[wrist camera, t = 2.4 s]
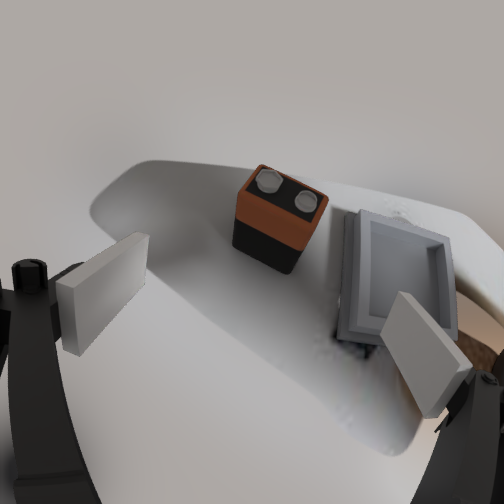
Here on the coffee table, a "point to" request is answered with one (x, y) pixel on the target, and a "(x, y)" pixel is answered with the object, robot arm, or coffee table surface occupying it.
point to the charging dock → (392, 275)
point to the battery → (276, 218)
